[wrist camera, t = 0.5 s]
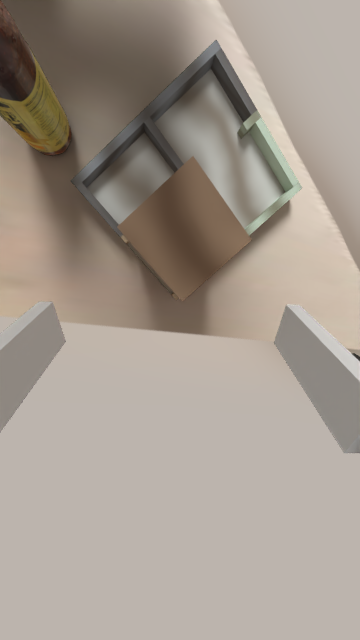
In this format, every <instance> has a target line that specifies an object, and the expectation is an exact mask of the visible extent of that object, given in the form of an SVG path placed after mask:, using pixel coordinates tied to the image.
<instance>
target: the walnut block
mask: <svg viewBox="0 0 360 640" xmlns="http://www.w3.org/2000/svg"><path fill="white" fill-rule="evenodd" d="M117 228H118V229H119V230H120V231H121V233H122V234H123V235H124V236H125V237H126V239H127V240H128V241H129V242H130V244H131V245H132V246H133V247H134V249H135V250H136V251H137V252H138V253H139V254H140V255H141V256H142V258H143V259H144V260H145V261H146V262H147V263H148V264H149V266H150V267H151V268H152V269H153V270H154V271H155V272H156V274H157V275H158V276H159V277H160V278H161V279H162V280H163V281H164V283H165V284H166V285H167V286H168V287H169V288H170V289H171V290H172V291H173V292H174V293H175V294H176V295H177V296H178V297H179V298H180V300H181V301H182V302H183V301H184V300H185V299H186V298H187V297H188V296H189V295H191V294H192V293H193V292H194V291H195V290H196V289H197V288H198V287H200V286H201V285H202V284H203V283H204V282H205V281H206V280H207V279H209V278H210V277H211V276H212V275H213V274H214V273H215V272H216V271H218V270H219V269H220V268H221V267H222V266H223V265H224V264H225V263H227V262H228V261H229V260H230V259H231V258H232V257H233V256H234V255H236V254H237V253H238V252H239V251H240V250H241V249H242V248H243V247H245V246H246V245H247V244H248V243H249V242H250V241H251V240H252V239H251V238H250V237H249V235H248V234H247V232H246V231H245V229H244V228H243V227H242V225H241V224H240V222H239V221H238V219H237V218H236V216H235V215H234V214H233V212H232V211H231V209H230V208H229V206H228V205H227V204H226V202H225V201H224V199H223V198H222V196H221V195H220V194H219V192H218V191H217V189H216V188H215V186H214V185H213V183H212V182H211V181H210V179H209V178H208V176H207V175H206V173H205V172H204V171H203V169H202V168H201V166H200V165H199V163H198V162H197V161H196V159H195V158H194V156H192V157H191V158H190V159H189V160H188V161H187V162H186V163H185V164H184V165H182V166H181V167H180V168H179V169H178V170H177V171H176V172H175V173H174V174H173V175H172V176H171V177H170V178H169V179H168V180H166V181H165V182H164V183H163V184H162V185H161V186H160V187H159V188H158V189H157V190H156V191H155V192H154V193H153V194H152V195H150V196H149V197H148V198H147V199H146V200H145V201H144V202H143V203H142V204H141V205H140V206H139V207H138V208H137V209H136V210H134V211H133V212H132V213H131V214H130V215H129V216H128V217H127V218H126V219H125V220H124V221H123V222H122V223H121V224H119V225H118V226H117Z"/></svg>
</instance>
